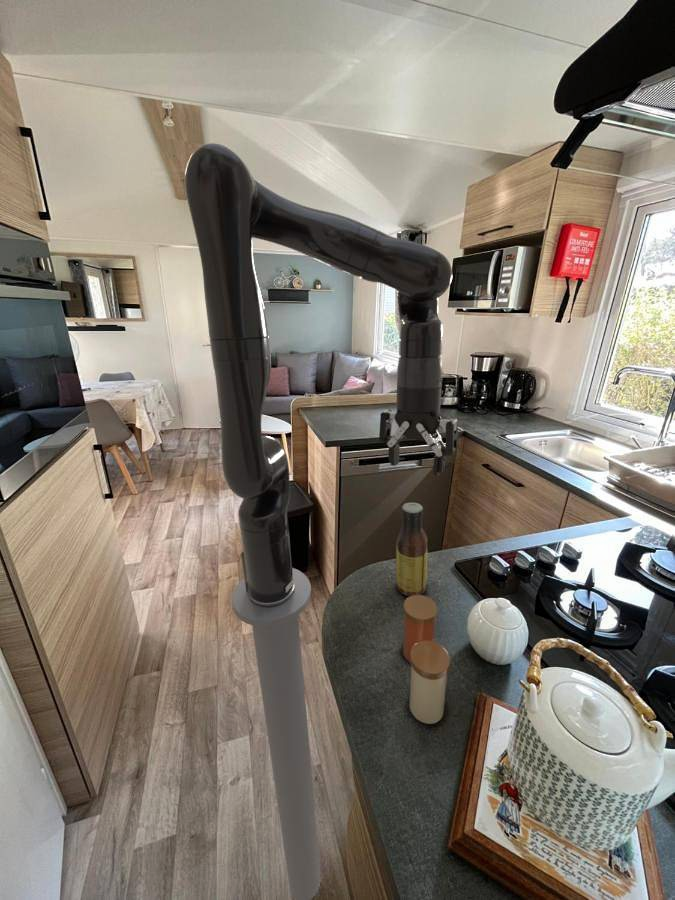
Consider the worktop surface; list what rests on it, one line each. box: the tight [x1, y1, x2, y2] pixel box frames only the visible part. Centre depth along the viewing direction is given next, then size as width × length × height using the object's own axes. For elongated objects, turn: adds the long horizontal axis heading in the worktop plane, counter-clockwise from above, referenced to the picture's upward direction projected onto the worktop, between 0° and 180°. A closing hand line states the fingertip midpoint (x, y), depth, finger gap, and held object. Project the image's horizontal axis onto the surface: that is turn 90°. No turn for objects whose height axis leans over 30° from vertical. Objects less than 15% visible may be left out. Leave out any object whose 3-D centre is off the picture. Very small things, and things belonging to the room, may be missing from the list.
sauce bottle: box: [395, 502, 429, 597], centre depth 77 cm, size 6×6×20 cm
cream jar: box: [408, 641, 451, 725], centre depth 55 cm, size 5×5×10 cm
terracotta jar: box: [402, 594, 438, 664], centre depth 64 cm, size 5×5×10 cm
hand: (415, 469), depth 71 cm, fingers open, 8 cm apart
